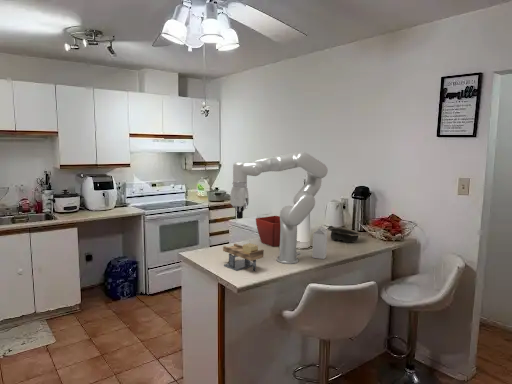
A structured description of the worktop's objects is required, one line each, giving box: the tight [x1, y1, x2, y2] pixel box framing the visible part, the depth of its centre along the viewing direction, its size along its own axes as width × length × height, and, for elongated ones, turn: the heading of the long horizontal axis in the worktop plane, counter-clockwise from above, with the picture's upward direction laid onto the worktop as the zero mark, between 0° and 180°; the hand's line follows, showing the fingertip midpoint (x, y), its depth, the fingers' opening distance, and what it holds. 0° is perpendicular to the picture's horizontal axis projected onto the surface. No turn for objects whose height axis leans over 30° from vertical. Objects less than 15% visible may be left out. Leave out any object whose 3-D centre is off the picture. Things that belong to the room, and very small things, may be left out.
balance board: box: [222, 243, 265, 262], centre depth 191 cm, size 22×9×4 cm, turn 45°
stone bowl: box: [326, 225, 363, 244], centre depth 256 cm, size 25×25×9 cm
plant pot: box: [255, 215, 280, 248], centre depth 241 cm, size 19×19×17 cm
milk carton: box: [311, 224, 328, 260], centre depth 213 cm, size 7×7×19 cm
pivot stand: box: [223, 253, 257, 272], centre depth 192 cm, size 21×14×7 cm
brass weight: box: [242, 242, 259, 254], centre depth 186 cm, size 6×5×5 cm
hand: (239, 218), depth 196 cm, fingers closed
